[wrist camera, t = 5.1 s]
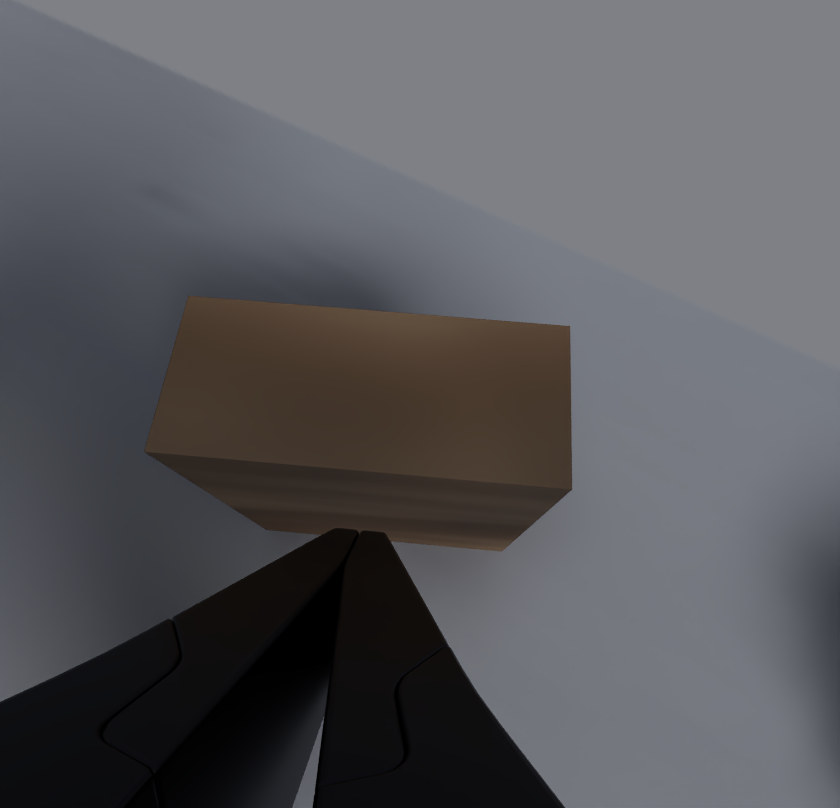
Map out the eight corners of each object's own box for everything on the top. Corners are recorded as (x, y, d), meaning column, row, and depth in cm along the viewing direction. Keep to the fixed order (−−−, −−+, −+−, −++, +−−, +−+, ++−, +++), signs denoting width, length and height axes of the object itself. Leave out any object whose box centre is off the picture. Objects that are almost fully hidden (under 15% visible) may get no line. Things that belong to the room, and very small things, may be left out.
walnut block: (501, 551, 16) (572, 489, 9) (266, 529, 17) (144, 451, 9) (505, 452, 18) (569, 323, 10) (284, 432, 18) (188, 293, 10)
